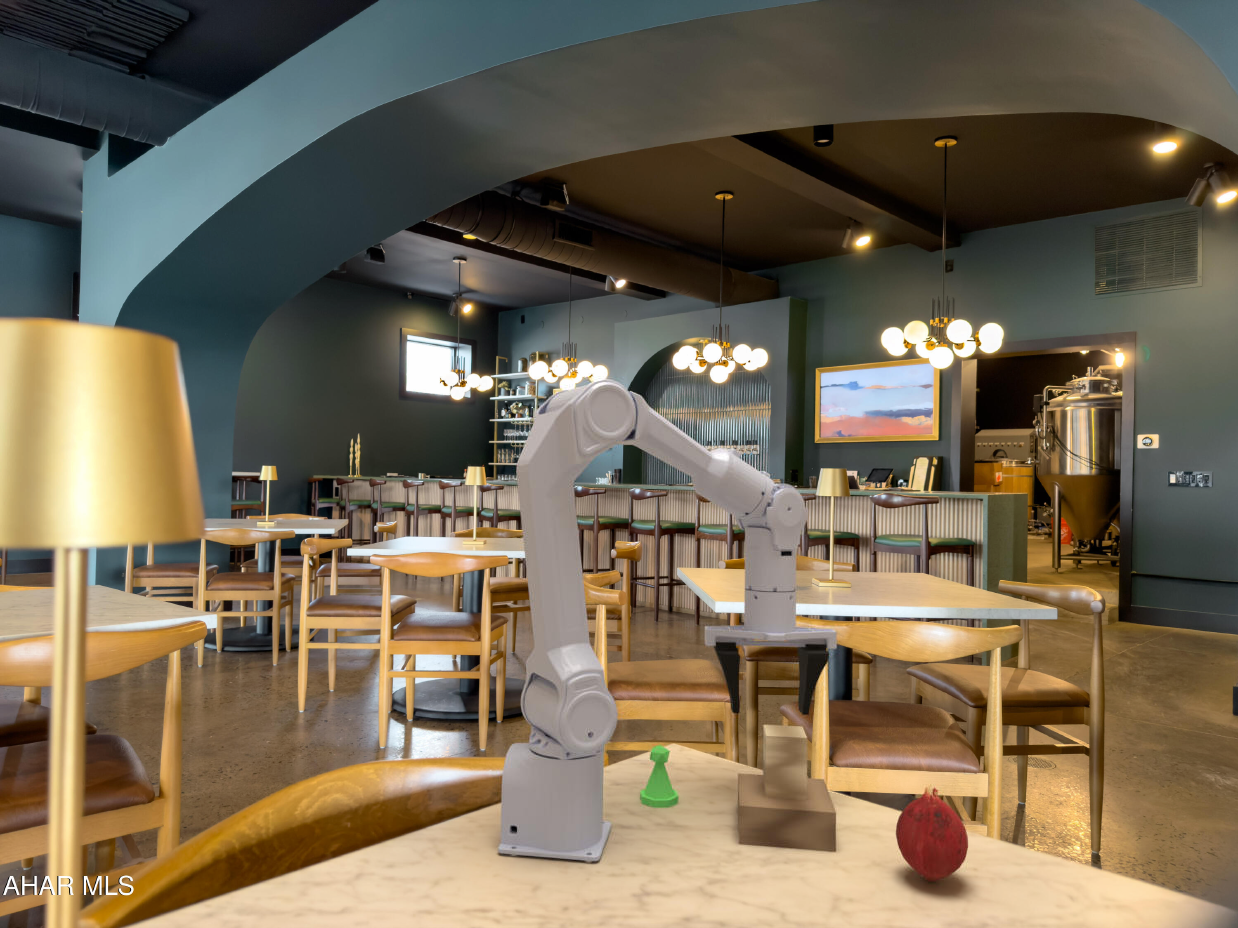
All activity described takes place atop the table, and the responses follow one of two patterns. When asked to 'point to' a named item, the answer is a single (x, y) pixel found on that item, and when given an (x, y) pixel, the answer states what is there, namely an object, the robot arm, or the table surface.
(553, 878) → the table surface
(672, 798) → the game piece
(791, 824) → the walnut block
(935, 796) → the onion
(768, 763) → the maple block
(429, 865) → the table surface
